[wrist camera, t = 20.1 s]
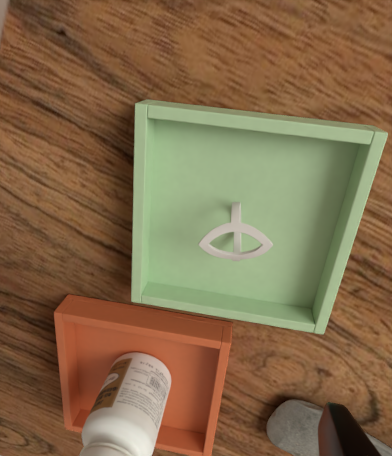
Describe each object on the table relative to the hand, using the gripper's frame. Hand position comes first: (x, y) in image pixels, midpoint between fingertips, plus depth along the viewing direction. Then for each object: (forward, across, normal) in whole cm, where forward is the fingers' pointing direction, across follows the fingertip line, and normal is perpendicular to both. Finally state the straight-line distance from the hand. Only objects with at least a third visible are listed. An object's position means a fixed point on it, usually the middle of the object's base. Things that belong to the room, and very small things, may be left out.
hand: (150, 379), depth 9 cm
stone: (+12, -12, +16) cm, 23 cm away
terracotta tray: (+12, +3, +13) cm, 18 cm away
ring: (+12, -2, 0) cm, 12 cm away
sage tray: (+12, -2, 0) cm, 12 cm away
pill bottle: (+12, +3, +13) cm, 18 cm away
